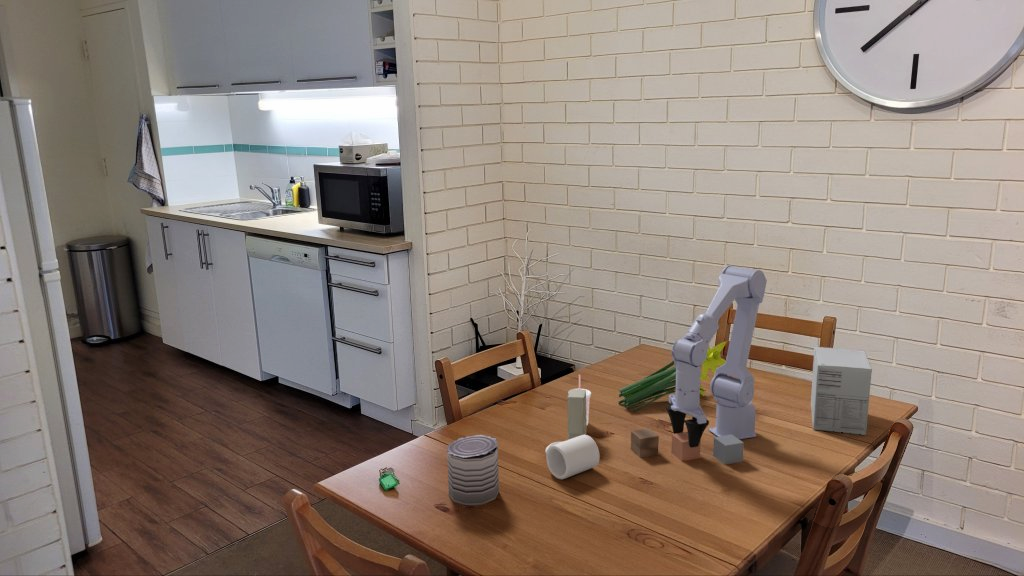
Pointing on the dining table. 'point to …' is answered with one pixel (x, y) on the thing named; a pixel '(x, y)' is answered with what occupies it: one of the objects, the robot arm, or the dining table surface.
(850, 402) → the supplement box
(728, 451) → the slate grey block
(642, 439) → the walnut block
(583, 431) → the skincare box
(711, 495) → the dining table surface
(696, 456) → the terracotta block
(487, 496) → the can
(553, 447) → the mug
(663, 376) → the daffodil flowers
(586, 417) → the beverage cup
